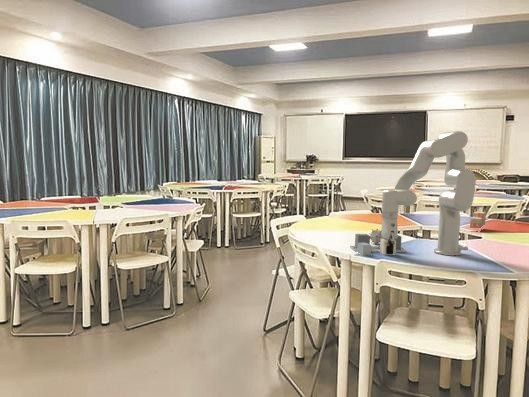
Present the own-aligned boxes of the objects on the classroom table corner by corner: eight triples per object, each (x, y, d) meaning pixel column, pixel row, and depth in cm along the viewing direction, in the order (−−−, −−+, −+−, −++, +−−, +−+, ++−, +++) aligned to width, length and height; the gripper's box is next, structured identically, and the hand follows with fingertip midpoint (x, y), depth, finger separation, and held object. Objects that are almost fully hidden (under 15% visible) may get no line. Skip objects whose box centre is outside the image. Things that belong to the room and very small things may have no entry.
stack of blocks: (479, 232, 287) (480, 214, 286) (469, 231, 291) (470, 213, 290) (484, 229, 304) (486, 211, 303) (475, 228, 308) (476, 211, 307)
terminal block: (364, 252, 210) (365, 242, 210) (370, 255, 204) (371, 245, 204) (357, 252, 209) (357, 242, 209) (362, 255, 203) (363, 245, 203)
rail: (399, 248, 222) (400, 233, 222) (406, 252, 213) (406, 236, 213) (349, 247, 221) (350, 232, 220) (354, 251, 212) (355, 235, 211)
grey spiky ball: (374, 249, 237) (375, 233, 242) (388, 246, 231) (388, 230, 236) (364, 242, 232) (366, 226, 237) (378, 239, 226) (379, 223, 231)
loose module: (391, 252, 211) (392, 238, 210) (395, 255, 206) (396, 240, 205) (379, 252, 211) (380, 238, 210) (383, 254, 206) (383, 240, 205)
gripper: (403, 218, 198) (401, 256, 200) (390, 213, 215) (388, 249, 217) (388, 217, 198) (385, 256, 200) (376, 213, 215) (374, 248, 216)
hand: (387, 252), depth 208 cm, fingers closed on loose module, 5 cm apart
